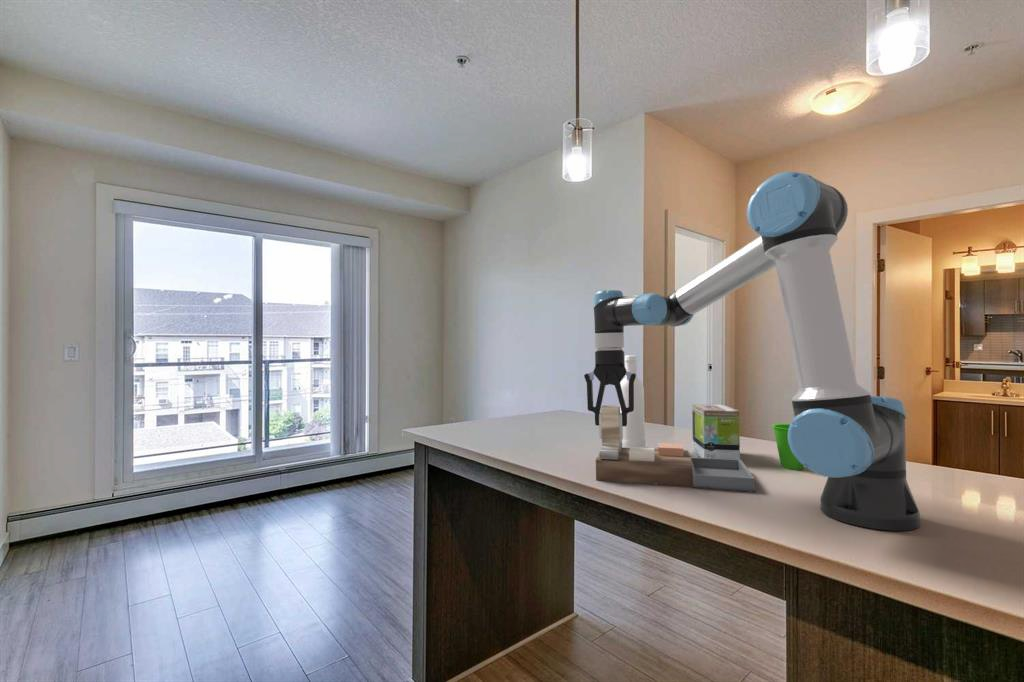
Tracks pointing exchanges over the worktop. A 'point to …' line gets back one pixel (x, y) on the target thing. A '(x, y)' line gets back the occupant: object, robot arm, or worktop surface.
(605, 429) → the two-tone beige block
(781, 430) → the cup
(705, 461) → the tray
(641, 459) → the cream tile
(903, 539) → the worktop surface
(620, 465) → the board
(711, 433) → the tea box
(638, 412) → the bottle
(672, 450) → the terracotta tile
